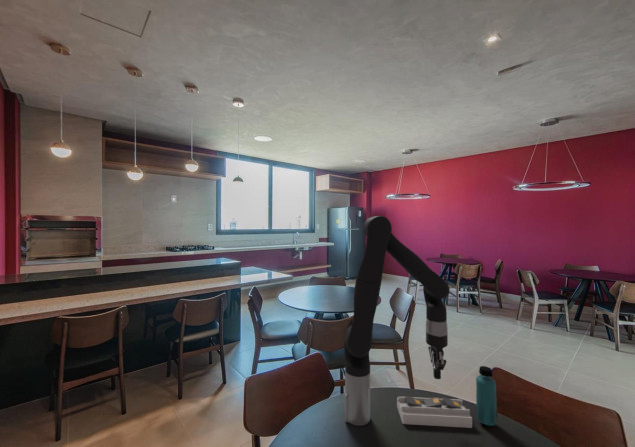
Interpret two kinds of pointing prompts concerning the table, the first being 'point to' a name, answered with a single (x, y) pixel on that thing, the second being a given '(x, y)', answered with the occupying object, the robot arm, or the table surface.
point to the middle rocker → (432, 402)
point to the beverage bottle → (486, 397)
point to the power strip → (434, 414)
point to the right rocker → (451, 403)
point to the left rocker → (413, 401)
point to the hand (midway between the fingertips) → (437, 378)
